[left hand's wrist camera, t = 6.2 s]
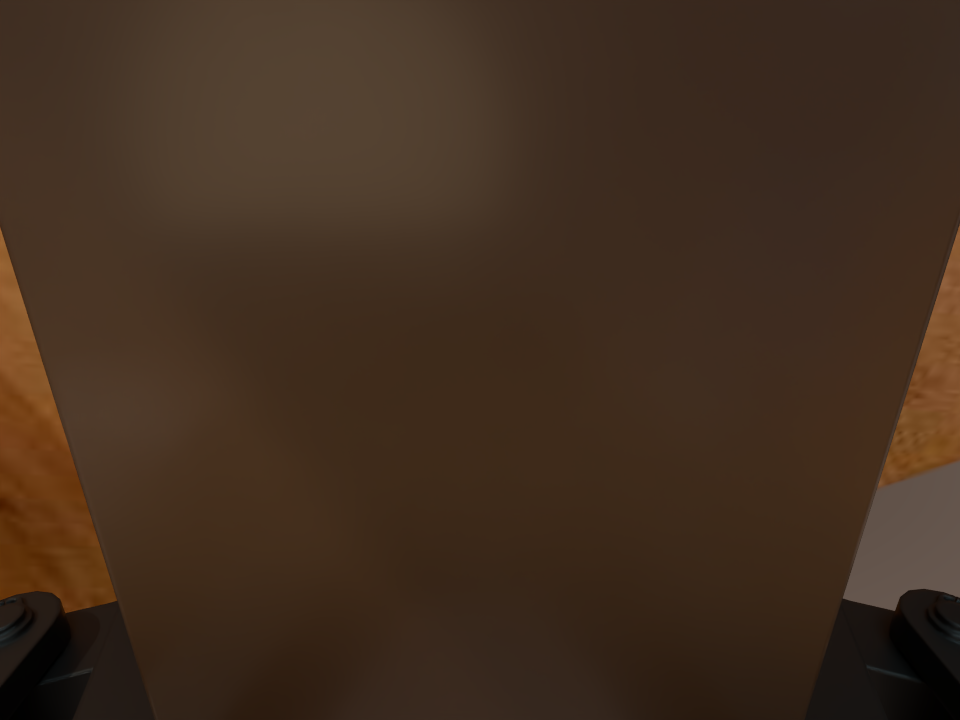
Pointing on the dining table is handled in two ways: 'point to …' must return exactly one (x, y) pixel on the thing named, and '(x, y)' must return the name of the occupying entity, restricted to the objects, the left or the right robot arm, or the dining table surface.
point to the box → (479, 335)
